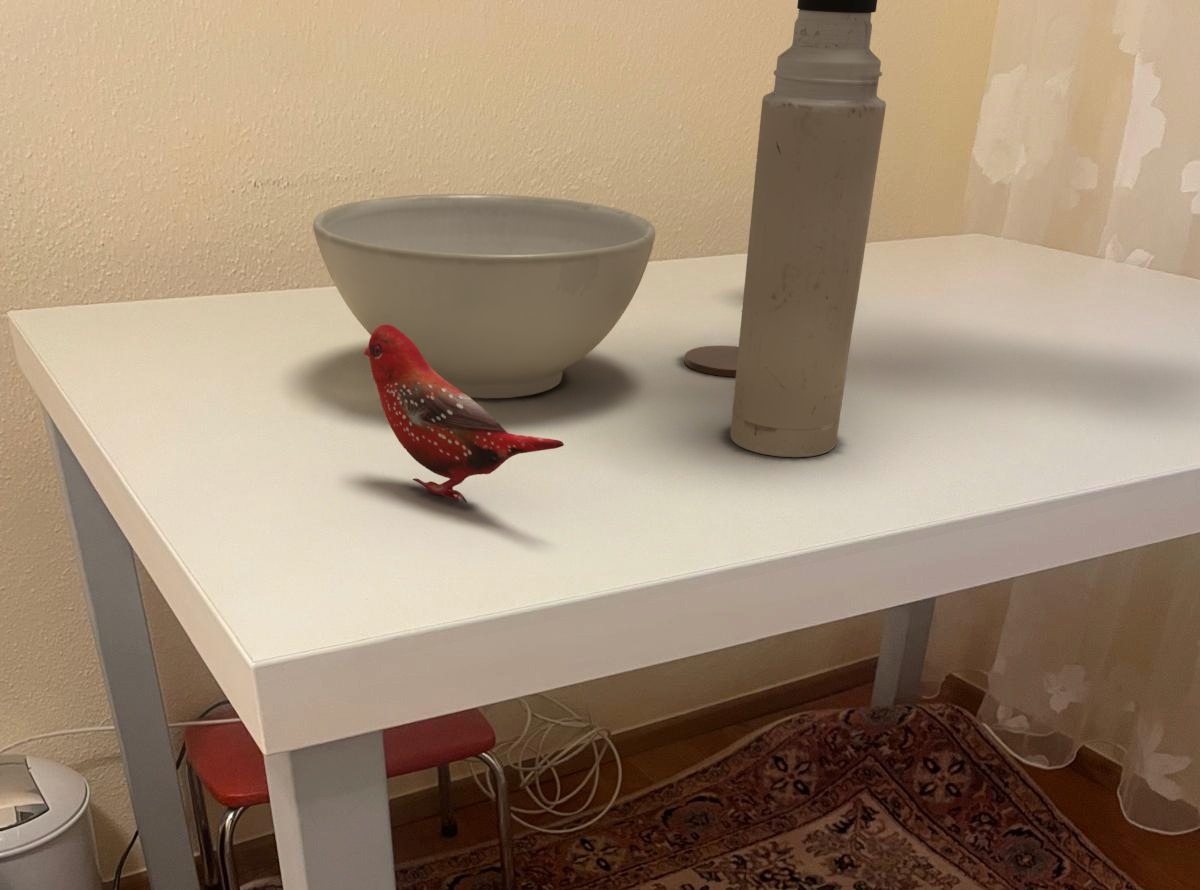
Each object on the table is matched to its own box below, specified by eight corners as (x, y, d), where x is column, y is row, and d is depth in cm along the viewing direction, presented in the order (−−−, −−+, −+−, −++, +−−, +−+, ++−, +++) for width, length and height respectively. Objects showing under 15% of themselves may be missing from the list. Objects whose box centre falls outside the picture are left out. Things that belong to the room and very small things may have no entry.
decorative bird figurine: (389, 465, 83) (378, 314, 77) (578, 537, 74) (582, 371, 68) (357, 475, 81) (343, 321, 75) (546, 550, 72) (547, 381, 66)
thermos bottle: (708, 435, 91) (746, -11, 74) (780, 416, 95) (831, -9, 79) (785, 465, 86) (843, -5, 69) (858, 444, 90) (929, -3, 74)
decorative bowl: (705, 373, 104) (717, 221, 97) (518, 452, 86) (517, 272, 79) (467, 321, 116) (463, 183, 109) (258, 381, 98) (237, 220, 91)
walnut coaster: (788, 362, 108) (789, 355, 108) (748, 382, 102) (749, 375, 102) (710, 347, 111) (711, 340, 111) (668, 365, 106) (668, 358, 105)
